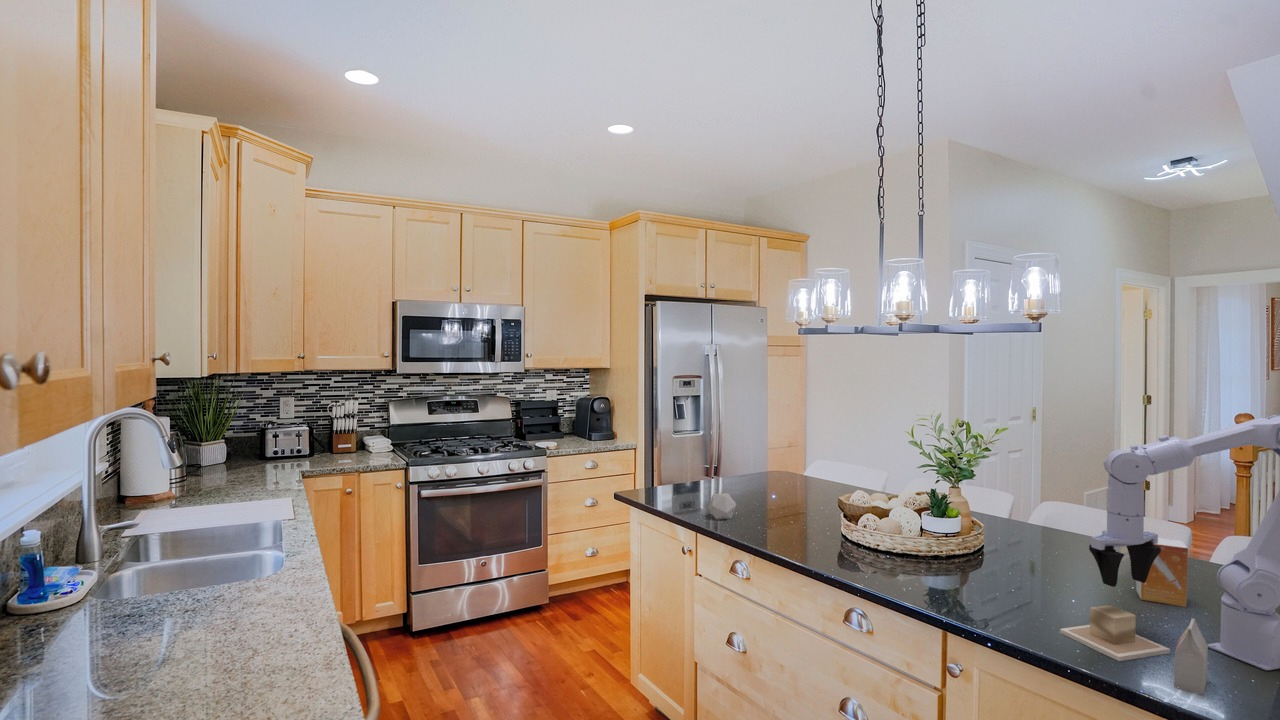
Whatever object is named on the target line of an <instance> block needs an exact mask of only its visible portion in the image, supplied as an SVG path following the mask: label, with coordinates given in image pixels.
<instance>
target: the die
mask: <svg viewBox="0 0 1280 720" xmlns="http://www.w3.org/2000/svg"><path fill="white" fill-rule="evenodd" d="M736 507H737V503H736V502H735V500H734V499H733V498H732V496H731V495H730V494H729V493H713V494H712V496H711V499H710V502H709V504H708V505H707V509H708V510H709V512H710V513H711V515H712V516H713V517H714V519H715V520H717V521H718V520H731V519H732V517H733V514H734V512H735V510H736Z"/></svg>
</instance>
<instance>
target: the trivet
mask: <svg viewBox="0 0 1280 720" xmlns="http://www.w3.org/2000/svg"><path fill="white" fill-rule="evenodd" d="M1059 634H1061V635H1063V636H1065V637H1067V638H1069V639H1072V640H1074V641H1076V642H1078V643H1080V644H1082V645H1085V646H1087V647H1088V648H1091V649H1092V650H1094V651H1096V652H1099V653H1101V654H1104V655H1105V656H1107V657H1109V658H1111V659H1112V660H1116V661H1117V662H1124V661H1130V660H1136V659H1142V658H1150V657H1155V656H1162V655H1167V654H1171V648H1169V647H1166V646H1164V645H1162V644H1160V643H1156V642H1155V641H1152V640H1150V639H1148V638H1146V637H1143V636H1141V635H1139V634H1137V633H1135V642H1130V643H1124V644H1118V645H1114V644H1111V643H1109V642H1107V641H1105V640H1103V639H1100V638H1098V637H1096V636H1094V635H1092V634H1090V624H1085V625H1078V626H1071V627H1070V626H1069V627H1063V628H1059Z"/></svg>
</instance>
